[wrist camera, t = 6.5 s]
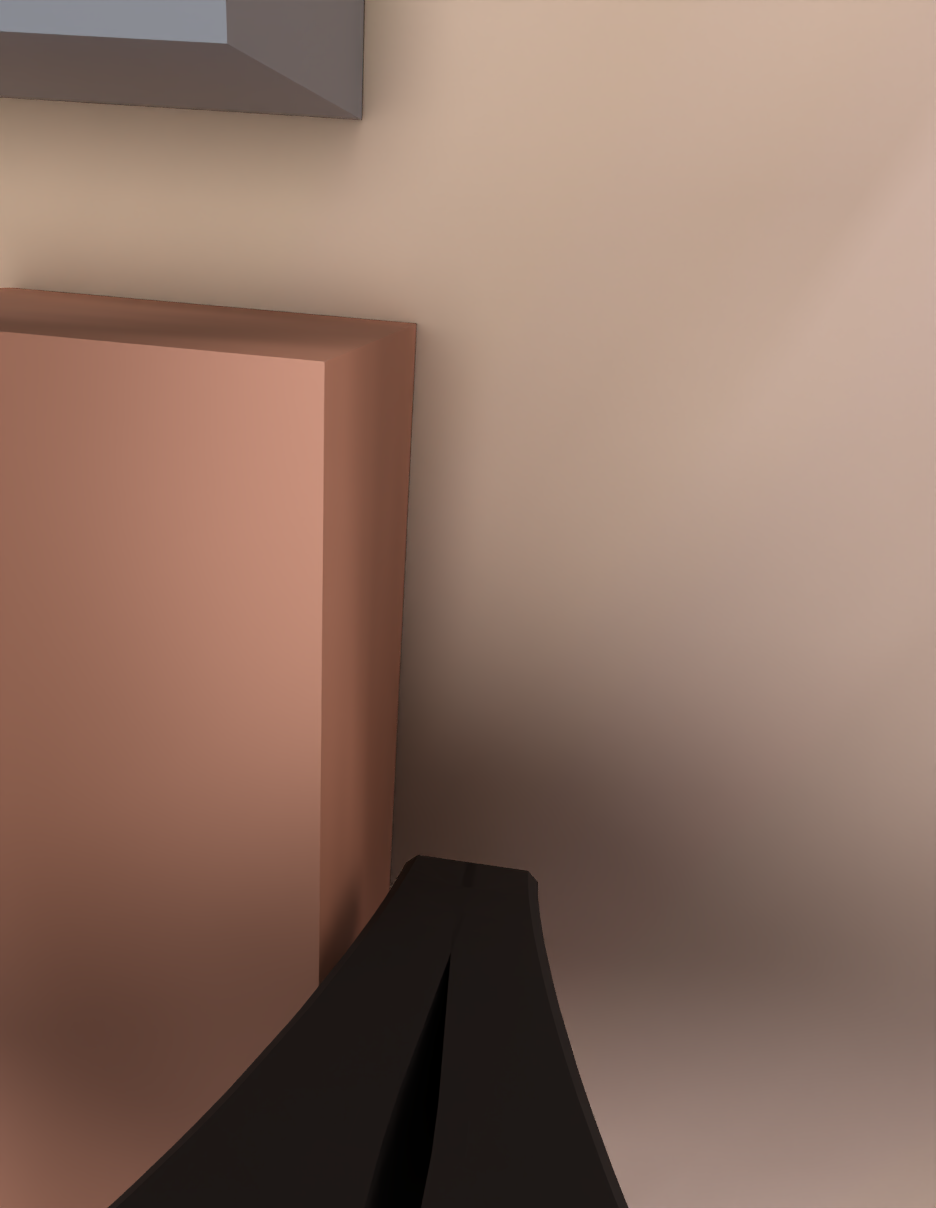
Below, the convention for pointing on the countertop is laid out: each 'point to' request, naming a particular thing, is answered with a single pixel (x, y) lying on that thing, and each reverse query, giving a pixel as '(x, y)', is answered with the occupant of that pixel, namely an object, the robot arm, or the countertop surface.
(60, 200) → the countertop surface
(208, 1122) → the robot arm
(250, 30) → the dock
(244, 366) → the t block
